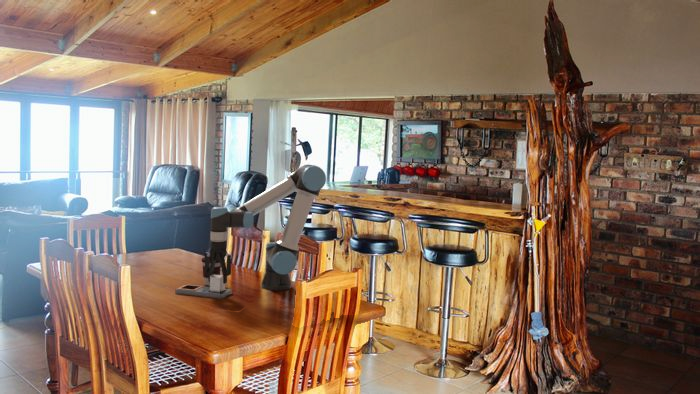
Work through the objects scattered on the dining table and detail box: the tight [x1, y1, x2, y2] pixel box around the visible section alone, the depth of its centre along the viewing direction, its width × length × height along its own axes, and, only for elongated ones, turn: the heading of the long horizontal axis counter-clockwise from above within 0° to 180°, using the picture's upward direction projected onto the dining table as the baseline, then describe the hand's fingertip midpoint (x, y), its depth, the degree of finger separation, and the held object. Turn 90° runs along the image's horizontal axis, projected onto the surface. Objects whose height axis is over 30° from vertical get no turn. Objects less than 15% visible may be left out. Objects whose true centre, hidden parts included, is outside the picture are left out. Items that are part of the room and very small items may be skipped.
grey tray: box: [174, 284, 233, 300], centre depth 277 cm, size 24×10×3 cm, turn 76°
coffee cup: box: [201, 255, 222, 286], centre depth 296 cm, size 10×10×15 cm
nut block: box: [209, 274, 225, 293], centre depth 275 cm, size 5×5×9 cm
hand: (217, 289), depth 275 cm, fingers closed on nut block, 5 cm apart
